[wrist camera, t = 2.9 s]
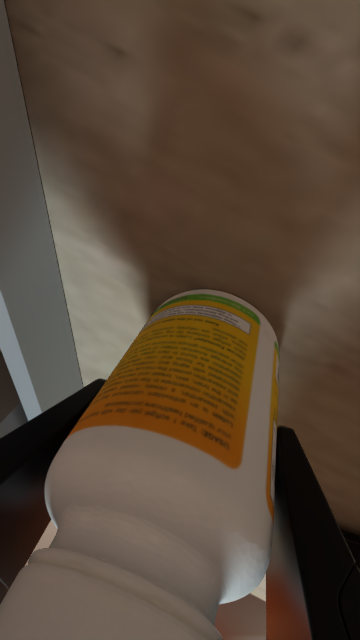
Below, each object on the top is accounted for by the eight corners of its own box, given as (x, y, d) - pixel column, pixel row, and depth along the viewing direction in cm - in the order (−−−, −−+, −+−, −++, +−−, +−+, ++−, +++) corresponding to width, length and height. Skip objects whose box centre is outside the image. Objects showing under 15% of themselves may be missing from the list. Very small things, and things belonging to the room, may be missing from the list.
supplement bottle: (126, 320, 13) (-111, 613, 5) (229, 258, 10) (44, 694, 2) (198, 403, 15) (96, 724, 7) (305, 369, 12) (340, 856, 4)
